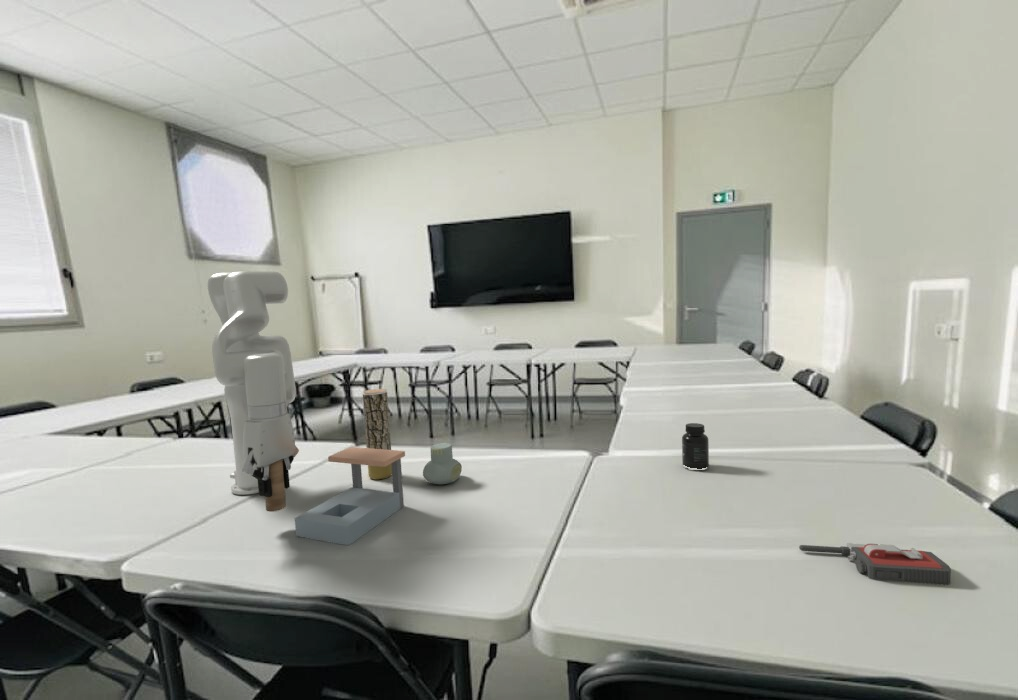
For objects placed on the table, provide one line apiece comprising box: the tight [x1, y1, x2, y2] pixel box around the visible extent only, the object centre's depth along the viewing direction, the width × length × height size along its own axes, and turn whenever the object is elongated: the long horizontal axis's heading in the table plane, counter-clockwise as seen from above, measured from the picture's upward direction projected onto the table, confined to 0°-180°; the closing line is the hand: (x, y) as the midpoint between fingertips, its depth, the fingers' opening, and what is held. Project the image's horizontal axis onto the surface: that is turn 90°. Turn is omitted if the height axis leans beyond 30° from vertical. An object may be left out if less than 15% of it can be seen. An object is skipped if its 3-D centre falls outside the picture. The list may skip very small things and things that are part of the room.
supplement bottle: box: [681, 422, 710, 469], centre depth 129 cm, size 7×7×12 cm
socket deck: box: [294, 446, 406, 546], centre depth 105 cm, size 16×20×14 cm
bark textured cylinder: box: [362, 388, 392, 480], centre depth 133 cm, size 7×7×25 cm
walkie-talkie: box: [799, 542, 952, 586], centre depth 78 cm, size 9×4×20 cm
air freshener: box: [422, 442, 462, 485], centre depth 127 cm, size 11×8×10 cm
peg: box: [262, 459, 287, 512], centre depth 102 cm, size 4×4×12 cm
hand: (274, 490), depth 102 cm, fingers closed on peg, 4 cm apart
